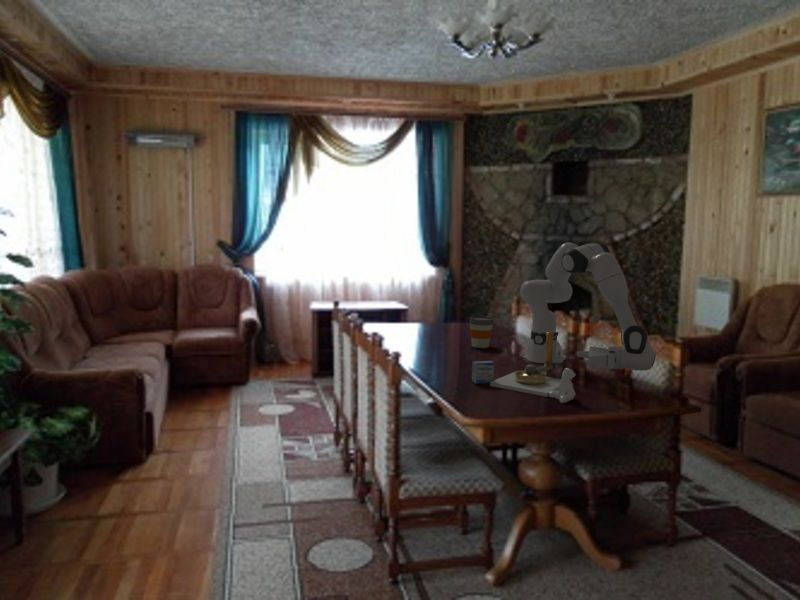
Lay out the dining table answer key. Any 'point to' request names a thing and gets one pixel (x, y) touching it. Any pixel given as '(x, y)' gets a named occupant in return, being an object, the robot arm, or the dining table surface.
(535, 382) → the brass disc with post
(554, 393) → the seated beast figurine
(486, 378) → the medicine box
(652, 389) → the dining table surface
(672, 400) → the dining table surface
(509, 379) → the white rectangular board
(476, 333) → the reusable coffee cup
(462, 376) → the dining table surface
